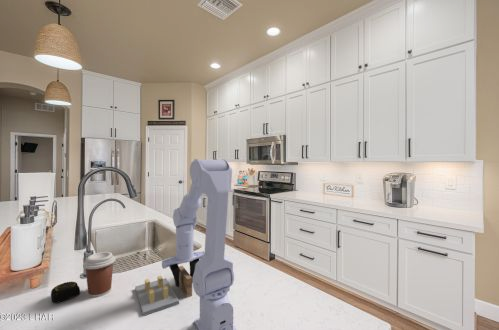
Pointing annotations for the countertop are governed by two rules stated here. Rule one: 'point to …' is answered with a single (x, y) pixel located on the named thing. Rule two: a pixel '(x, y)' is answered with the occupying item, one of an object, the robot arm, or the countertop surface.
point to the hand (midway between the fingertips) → (184, 283)
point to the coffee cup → (99, 273)
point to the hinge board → (155, 295)
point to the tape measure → (64, 291)
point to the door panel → (185, 281)
